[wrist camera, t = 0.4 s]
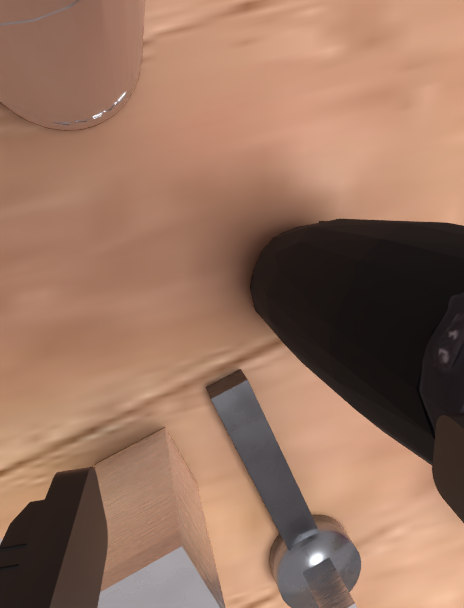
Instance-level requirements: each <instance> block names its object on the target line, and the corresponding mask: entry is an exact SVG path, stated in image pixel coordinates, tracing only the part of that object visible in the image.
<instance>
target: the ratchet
mask: <svg viewBox="0 0 464 608" xmlns="http://www.w3.org/2000/svg"><path fill="white" fill-rule="evenodd" d="M206 388H207V391H208V393H209V396H210V398H211V400H212V402H213V404H214V406H215V408H216V410H217V412H218V414H219V416H220V418H221V420H222V422H223V424H224V426H225V427H226V429H227V431H228V433H229V435H230V437H231V439H232V441H233V443H234V445H235V447H236V449H237V451H238V453H239V455H240V457H241V459H242V461H243V463H244V464H245V466H246V468H247V470H248V472H249V474H250V476H251V478H252V480H253V482H254V484H255V486H256V488H257V490H258V492H259V494H260V496H261V498H262V500H263V501H264V503H265V505H266V507H267V509H268V511H269V513H270V515H271V517H272V519H273V521H274V523H275V525H276V527H277V529H278V531H279V533H280V534H279V535H278V536H277V538H276V540H275V541H274V543H273V545H272V548H271V552H270V559H269V560H270V567H271V570H272V572H273V575H274V578H275V580H276V583H277V586H278V588H279V591H280V593H281V596H282V598H283V600H284V601H285V602H286V603H287V605H289V606H290V607H291V608H357V606H356V604H355V602H354V600H353V599H352V597H351V595H350V593H349V592H350V591H351V590H352V588H353V587H354V585H355V584H356V582H357V580H358V577H359V574H360V570H361V559H360V555H359V552H358V551H357V549H356V547H355V546H354V544H353V543H352V541H351V540H350V538H349V537H348V535H347V534H346V532H345V531H344V529H343V527H342V526H341V525H340V524H339V523H338V522H337V521H336V520H334V519H333V518H331V517H328V516H324V515H311V513H310V511H309V509H308V506H307V504H306V502H305V500H304V498H303V496H302V494H301V492H300V490H299V487H298V485H297V483H296V481H295V479H294V477H293V475H292V473H291V471H290V468H289V466H288V464H287V462H286V460H285V458H284V456H283V454H282V452H281V449H280V447H279V445H278V443H277V441H276V439H275V437H274V435H273V432H272V430H271V428H270V426H269V424H268V422H267V420H266V418H265V416H264V413H263V411H262V409H261V407H260V405H259V403H258V401H257V399H256V397H255V394H254V392H253V390H252V388H251V386H250V384H249V382H248V380H247V378H246V377H245V375H244V374H243V372H242V371H241V369H240V370H238V371H236V372H234V373H233V374H231V375H229V376H227V377H225V378H223V379H221V380H219V381H217V382H215V383H213V384H211V385H209V386H208V387H206Z"/></svg>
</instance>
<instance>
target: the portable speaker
mask: <svg viewBox="0 0 464 608" xmlns="http://www.w3.org/2000/svg"><path fill="white" fill-rule="evenodd" d="M250 289H251V293H252V298H253V302H254V306H255V310H256V312H257V313H258V314H259V315H260V316H261V317H262V318H263V319H264V321H265V322H266V323H267V324H268V325H269V326H270V328H271V329H272V330H273V331H274V332H275V334H276V335H277V336H278V337H279V338H280V339H281V341H282V342H283V343H284V344H285V345H286V346H287V347H288V348H289V349H290V350H291V351H292V352H293V354H294V355H295V356H296V357H297V358H298V359H299V360H300V361H301V362H302V363H303V364H304V365H305V366H306V367H308V368H309V369H310V370H311V371H312V372H313V373H314V374H316V375H317V376H318V377H319V378H320V379H321V380H322V381H324V382H325V383H326V384H327V385H328V386H329V387H330V388H332V389H333V390H334V391H335V392H336V393H337V394H338V395H340V396H341V397H342V398H343V399H344V400H345V401H346V402H348V403H349V404H350V405H351V406H352V407H353V408H354V409H356V410H357V411H358V412H359V413H361V414H362V415H363V416H364V417H366V418H367V419H368V420H369V421H371V422H372V423H373V424H374V425H376V426H377V427H378V428H379V429H381V430H382V431H383V432H385V433H386V434H387V435H389V436H390V437H392V438H393V439H395V440H396V441H398V442H399V443H400V444H402V445H403V446H405V447H406V448H408V449H409V450H411V451H412V452H413V453H415V454H416V455H418V456H419V457H421V458H422V459H424V460H425V461H426V462H428V463H429V464H431V465H432V466H433V455H434V443H435V432H436V423H437V420H438V418H439V417H440V416H442V415H448V414H455V413H461V412H464V226H462V225H456V224H451V223H440V222H412V221H385V220H357V219H336V220H331V221H319V223H316V224H311V225H306V226H301V227H296V228H294V229H291V230H289V231H286V232H284V233H281V234H280V235H279V236H276V237H274V238H273V239H272V240H271V241H270V242H269V244H268V245H267V246H266V247H265V248H264V249H263V251H262V252H261V255H260V257H259V259H258V262H257V264H256V266H255V268H254V271H253V275H252V280H251V284H250Z"/></svg>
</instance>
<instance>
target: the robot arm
mask: <svg viewBox="0 0 464 608" xmlns="http://www.w3.org/2000/svg"><path fill="white" fill-rule="evenodd" d="M144 12H145V0H0V102H1V103H3V104H4V105H5V106H6V107H7V108H9V109H10V110H11V111H13V112H14V113H16V114H18V115H19V116H21V117H23V118H24V119H26V120H28V121H30V122H33V123H35V124H38V125H41V126H44V127H46V128H53V129H59V130H77V129H85V128H88V127H91V126H95V125H98V124H100V123H102V122H103V121H105V120H107V119H109V118H110V117H112V116H113V115H114V114H115V113H117V112H118V111H119V110H120V109H121V108H122V107H123V106H124V105H125V103H126V102H127V100H128V99H129V97H130V96H131V94H132V93H133V91H134V89H135V86H136V83H137V80H138V78H139V75H140V68H141V61H142V48H143V32H144ZM432 473H433V479H434V482H435V485H436V487H437V490H438V491H439V493H440V495H441V496H442V498H443V499H444V500H445V501H446V503H447V504H448V505H449V506H450V507H451V508H452V510H453V511H454V512H455V513H456V514H457V516H458V517H459V518H460V519H461V520H462V521H463V523H464V412H461V413H455V414H448V415H442V416H440V417H439V418H438V420H437V423H436V432H435V443H434V455H433V466H432ZM107 549H108V529H107V521H106V516H105V511H104V507H103V502H102V497H101V493H100V488H99V483H98V478H97V474H96V471H95V469H94V468H93V467H89V468H82V469H76V470H69V471H62V472H57V473H56V474H55V476H54V478H53V481H52V483H51V485H50V488H49V490H48V493H47V495H46V498H45V500H40V501H34V502H30V503H29V504H28V505H27V506H26V507H25V508H24V509H23V510H22V512H21V513H20V514H19V515H18V516H17V517H16V518H15V519H14V520H13V521H12V522H11V523H10V525H9V527H8V530H7V532H6V534H5V536H4V538H3V540H2V542H1V545H0V608H97V607H98V602H99V596H100V590H101V585H102V579H103V573H104V568H105V562H106V556H107Z"/></svg>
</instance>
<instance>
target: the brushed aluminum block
mask: <svg viewBox="0 0 464 608" xmlns="http://www.w3.org/2000/svg"><path fill="white" fill-rule="evenodd" d="M95 471H96V474H97V478H98V483H99V488H100V493H101V497H102V502H103V507H104V511H105V516H106V521H107V529H108V549H107V556H106V562H105V568H104V573H103V579H102V585H101V590H100V596H99V602H98V607H97V608H225V604H224V600H223V595H222V591H221V586H220V582H219V578H218V573H217V569H216V565H215V560H214V556H213V551H212V547H211V543H210V538H209V534H208V530H207V525H206V521H205V517H204V512H203V508H202V503H201V499H200V495H199V490H198V486H197V483H196V481H195V479H194V477H193V476H192V474H191V472H190V470H189V469H188V467H187V465H186V463H185V462H184V460H183V458H182V456H181V454H180V453H179V451H178V449H177V447H176V446H175V444H174V442H173V440H172V439H171V437H170V435H169V433H168V432H167V430H166V428H163V429H161V430H159V431H157V432H156V433H154V434H152V435H150V436H148V437H146V438H144V439H142V440H140V441H138V442H137V443H135V444H133V445H131V446H129V447H127V448H125V449H123V450H121V451H119V452H118V453H116V454H114V455H112V456H110V457H108V458H106V459H104V460H102V461H100V462H98V463H97V464H95Z"/></svg>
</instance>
